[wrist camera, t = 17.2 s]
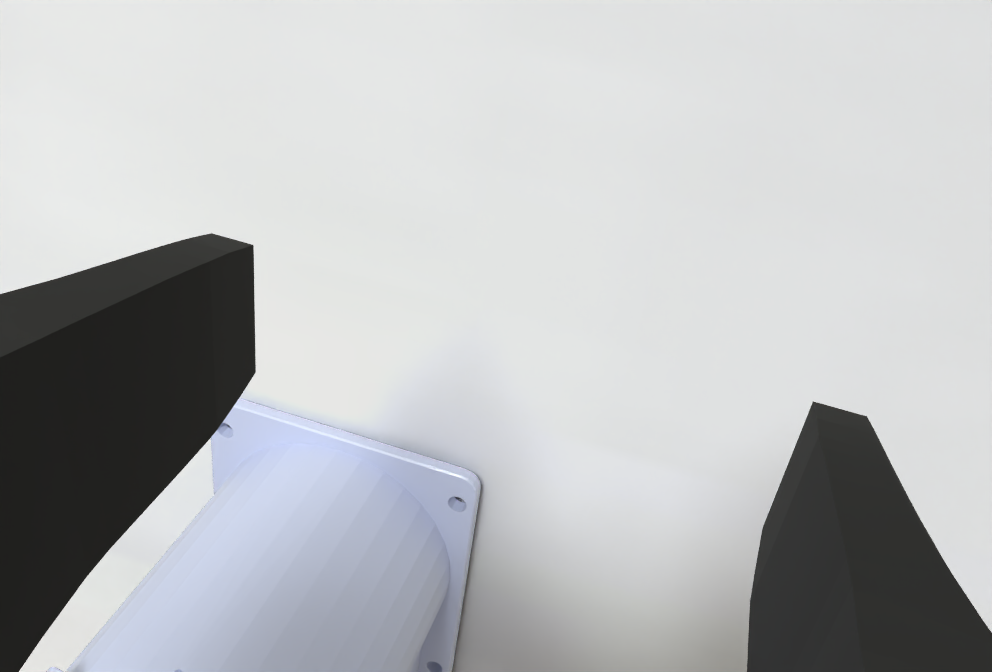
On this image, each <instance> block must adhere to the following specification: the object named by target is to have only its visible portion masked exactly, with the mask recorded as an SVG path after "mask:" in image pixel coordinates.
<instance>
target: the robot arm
mask: <svg viewBox="0 0 992 672" xmlns="http://www.w3.org/2000/svg"><path fill="white" fill-rule="evenodd" d="M255 372H256V371H255V312H254V254H253V245H251V244H247V243H244V242H240V241H237V240H233V239H229V238H226V237H222V236H219V235H215V234H207V235H202V236H197V237H193V238H189V239H185V240H181V241H178V242H174V243H171V244H167V245H164V246H161V247H157V248H154V249H151V250H147V251H144V252H141V253H138V254H135V255H131V256H128V257H125V258H122V259H119V260H116V261H112V262H109V263H106V264H103V265H100V266H96V267H93V268H90V269H87V270H83V271H80V272H77V273H74V274H71V275H67V276H64V277H61V278H58V279H54V280H50V281H47V282H43V283H40V284H36V285H32V286H29V287H25V288H21V289H18V290H14V291H10V292H7V293H3V294H0V672H19V670H20V669H21V668H22V666H23V665H24V663H25V662H26V660H27V659H28V657H29V656H30V654H31V653H32V651H33V650H34V649H35V647H36V646H37V644H38V643H39V641H40V640H41V638H42V637H43V636H44V634H45V633H46V631H47V630H48V629H49V627H50V626H51V625H52V623H53V622H54V621H55V619H56V618H57V616H58V615H59V614H60V612H61V611H62V610H63V608H64V607H65V605H66V604H67V603H68V601H69V600H70V599H71V597H72V596H73V595H74V593H75V592H76V590H77V589H78V588H79V586H80V585H81V584H82V582H83V581H84V579H85V578H86V577H87V576H88V574H89V573H90V572H91V571H92V570H93V568H94V567H95V566H96V565H97V564H98V562H99V561H100V560H101V559H102V558H103V556H104V555H105V554H106V553H107V552H108V550H109V549H110V548H111V547H112V546H113V545H114V544H115V543H116V542H117V540H118V539H119V538H120V537H121V536H122V535H123V534H124V533H125V532H126V531H127V529H128V528H129V527H130V526H131V525H132V524H133V523H134V522H135V521H136V520H137V519H138V517H139V516H140V515H141V514H142V513H143V512H144V511H145V510H146V509H147V508H148V506H149V505H150V504H151V503H152V502H153V501H154V500H155V499H156V498H157V497H158V496H159V494H160V493H161V492H162V491H163V490H164V489H165V488H166V487H167V486H168V485H169V484H170V482H171V481H172V480H173V479H174V478H175V477H176V476H177V475H178V474H179V473H180V471H181V470H182V469H183V468H184V467H185V466H186V465H187V464H188V462H189V461H190V460H191V459H192V458H193V457H194V456H195V455H196V454H197V452H198V451H199V450H200V449H201V448H202V447H203V446H204V445H205V443H206V442H207V441H208V440H209V439H210V438H211V449H212V467H213V484H214V496H213V497H212V498H211V499H210V500H209V502H208V503H207V504H206V505H205V506H204V508H203V509H202V510H201V511H200V512H199V513H198V515H197V516H196V517H195V518H194V519H193V521H192V522H191V523H190V524H189V525H188V527H187V528H186V529H185V530H184V531H183V532H182V534H181V535H180V536H179V537H178V538H177V540H176V541H175V542H174V543H173V544H172V545H171V547H170V548H169V549H168V550H167V551H166V553H165V554H164V555H163V556H162V557H161V559H160V560H159V561H158V562H157V563H156V564H155V566H154V567H153V568H152V569H151V570H150V572H149V573H148V574H147V575H146V576H145V578H144V579H143V580H142V581H141V582H140V583H139V585H138V586H137V587H136V588H135V589H134V591H133V592H132V593H131V594H130V595H129V597H128V598H127V599H126V600H125V601H124V602H123V604H122V605H121V606H120V607H119V608H118V610H117V611H116V612H115V613H114V614H113V615H112V617H111V618H110V619H109V620H108V621H107V623H106V624H105V625H104V626H103V627H102V629H101V630H100V631H99V632H98V633H97V634H96V636H95V637H94V638H93V639H92V640H91V642H90V643H89V644H88V645H87V646H86V648H85V649H84V650H83V651H82V652H81V653H80V655H79V656H78V657H77V658H76V659H75V661H74V662H73V663H72V664H71V665H70V666H69V668H68V669H67V670H66V671H65V672H452V668H453V662H454V656H455V649H456V643H457V636H458V630H459V624H460V617H461V611H462V605H463V598H464V592H465V586H466V579H467V573H468V567H469V560H470V554H471V547H472V541H473V535H474V528H475V522H476V516H477V509H478V503H479V497H480V490H481V484H480V481H479V479H478V477H477V476H476V475H475V474H474V473H473V472H471V471H469V470H467V469H465V468H462V467H459V466H455V465H452V464H449V463H446V462H442V461H439V460H436V459H433V458H430V457H426V456H423V455H420V454H417V453H414V452H410V451H407V450H404V449H401V448H397V447H394V446H391V445H388V444H385V443H381V442H378V441H375V440H372V439H368V438H365V437H362V436H359V435H356V434H352V433H349V432H346V431H343V430H340V429H336V428H333V427H330V426H327V425H323V424H320V423H317V422H314V421H311V420H307V419H304V418H301V417H298V416H295V415H291V414H288V413H285V412H282V411H278V410H275V409H272V408H269V407H266V406H262V405H259V404H256V403H253V402H250V401H246V400H243V399H240V398H239V397H240V396H241V394H242V393H243V391H244V390H245V388H246V386H247V385H248V383H249V382H250V380H251V379H252V377H253V375H254V374H255ZM225 423H226V424H228V425H229V426H230V427H231V428H232V429H231V428H229V427H228V426H227V425H226V424H225ZM455 497H459V498H461V499H463V500H464V502H460V501H458V500H457V499H456V498H455ZM46 672H63V671H62V670H60V669H58V668H56V667H50V668H49V669H48V670H47V671H46ZM747 672H992V633H991V631H990V630H989V629H988V627H987V626H986V624H985V623H984V621H983V620H982V619H981V617H980V616H979V614H978V613H977V611H976V609H975V608H974V606H973V605H972V603H971V602H970V600H969V599H968V597H967V596H966V594H965V593H964V591H963V590H962V588H961V587H960V585H959V584H958V582H957V581H956V579H955V578H954V576H953V575H952V573H951V571H950V570H949V568H948V567H947V565H946V563H945V562H944V560H943V558H942V556H941V555H940V553H939V551H938V550H937V548H936V546H935V544H934V543H933V541H932V539H931V537H930V536H929V534H928V532H927V530H926V529H925V527H924V525H923V523H922V522H921V520H920V518H919V516H918V514H917V513H916V511H915V509H914V507H913V505H912V503H911V501H910V500H909V498H908V496H907V494H906V492H905V490H904V488H903V486H902V484H901V482H900V480H899V478H898V476H897V475H896V473H895V471H894V469H893V467H892V465H891V463H890V461H889V459H888V457H887V455H886V453H885V451H884V449H883V447H882V445H881V443H880V441H879V439H878V437H877V435H876V433H875V431H874V429H873V427H872V425H871V423H870V421H869V420H868V418H867V416H863V415H859V414H856V413H852V412H849V411H845V410H841V409H838V408H834V407H831V406H827V405H824V404H820V403H816V402H813V403H812V406H811V408H810V411H809V413H808V416H807V418H806V421H805V423H804V426H803V428H802V431H801V433H800V436H799V438H798V441H797V443H796V446H795V448H794V451H793V453H792V456H791V458H790V461H789V463H788V466H787V468H786V471H785V473H784V476H783V478H782V481H781V483H780V486H779V488H778V491H777V493H776V496H775V498H774V501H773V503H772V506H771V509H770V511H769V514H768V516H767V519H766V521H765V524H764V526H763V530H762V535H761V541H760V547H759V552H758V558H757V563H756V569H755V575H754V581H753V588H752V594H751V600H750V617H749V639H748V663H747Z"/></svg>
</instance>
